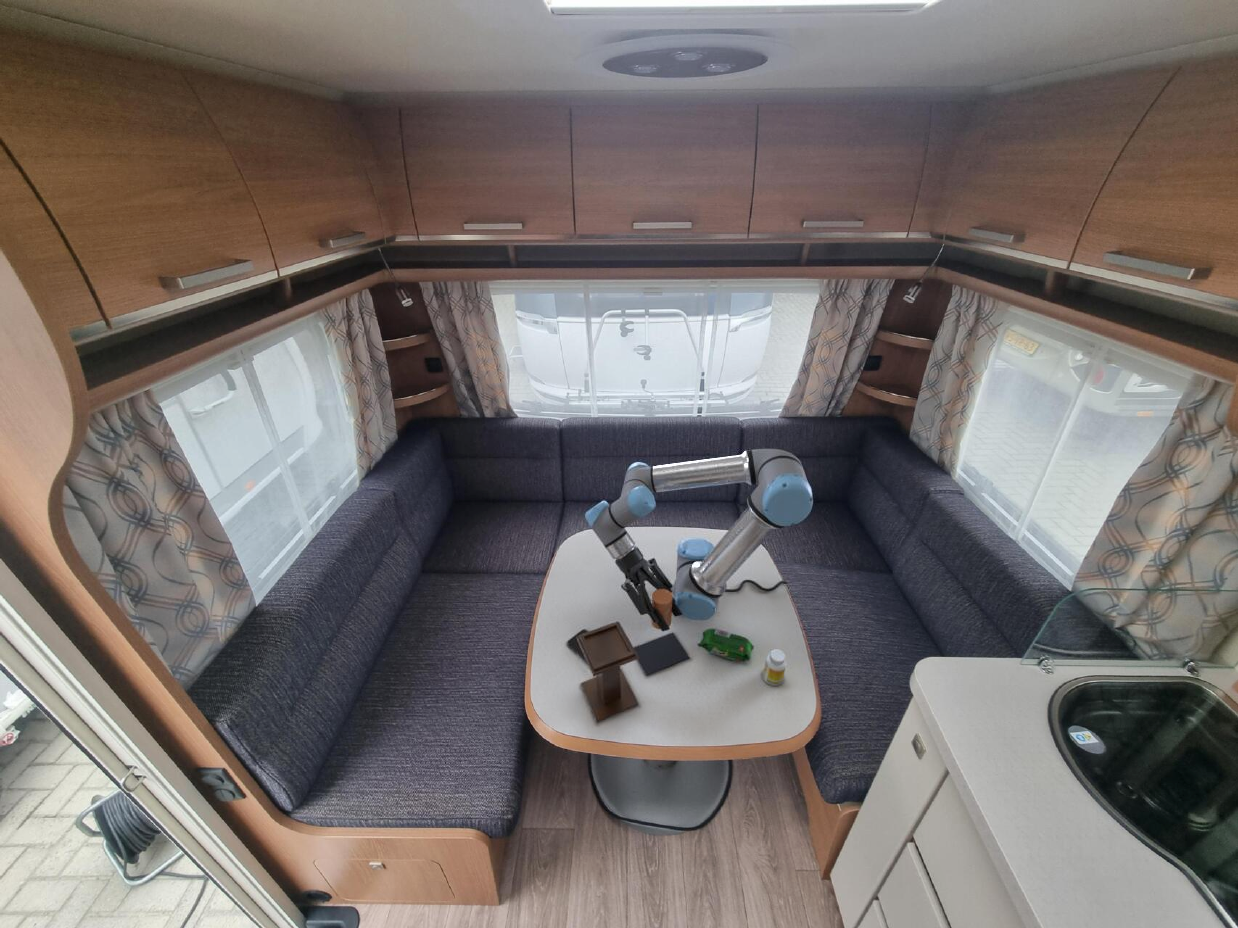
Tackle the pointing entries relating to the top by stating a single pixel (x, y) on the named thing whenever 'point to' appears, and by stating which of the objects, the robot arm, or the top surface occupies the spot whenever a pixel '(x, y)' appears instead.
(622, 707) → the stand
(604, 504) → the robot arm
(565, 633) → the top surface
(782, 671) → the supplement bottle
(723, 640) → the snack package
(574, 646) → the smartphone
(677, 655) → the mat
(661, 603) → the tin
